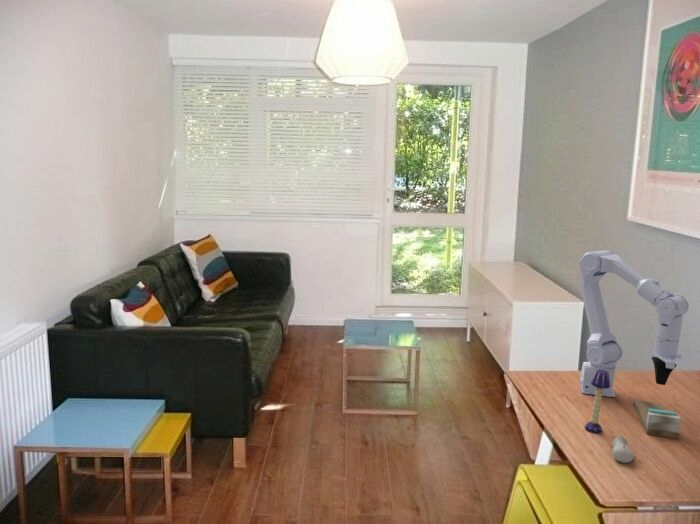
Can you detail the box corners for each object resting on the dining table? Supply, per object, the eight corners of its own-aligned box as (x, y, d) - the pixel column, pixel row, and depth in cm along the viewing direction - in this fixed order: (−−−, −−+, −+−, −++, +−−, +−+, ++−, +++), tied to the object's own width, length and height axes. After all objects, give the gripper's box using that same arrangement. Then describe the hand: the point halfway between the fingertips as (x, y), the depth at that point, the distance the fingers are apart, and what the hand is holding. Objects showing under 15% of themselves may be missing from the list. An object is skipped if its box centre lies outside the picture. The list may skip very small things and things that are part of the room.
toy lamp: (589, 423, 160) (596, 366, 156) (606, 429, 156) (614, 371, 153) (582, 429, 156) (589, 370, 153) (599, 435, 153) (607, 376, 150)
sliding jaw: (647, 424, 156) (650, 410, 156) (646, 421, 158) (648, 407, 157) (674, 428, 155) (676, 414, 154) (672, 425, 156) (675, 411, 156)
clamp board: (646, 433, 155) (649, 414, 154) (632, 404, 173) (635, 387, 172) (677, 438, 153) (680, 419, 152) (660, 408, 171) (663, 390, 170)
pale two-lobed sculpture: (630, 471, 139) (608, 460, 140) (629, 455, 146) (608, 445, 147) (638, 457, 137) (616, 446, 139) (637, 441, 144) (616, 431, 146)
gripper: (690, 348, 154) (682, 396, 157) (676, 332, 168) (669, 376, 171) (661, 344, 156) (654, 392, 159) (650, 329, 170) (643, 372, 173)
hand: (660, 383), depth 165 cm, fingers closed
